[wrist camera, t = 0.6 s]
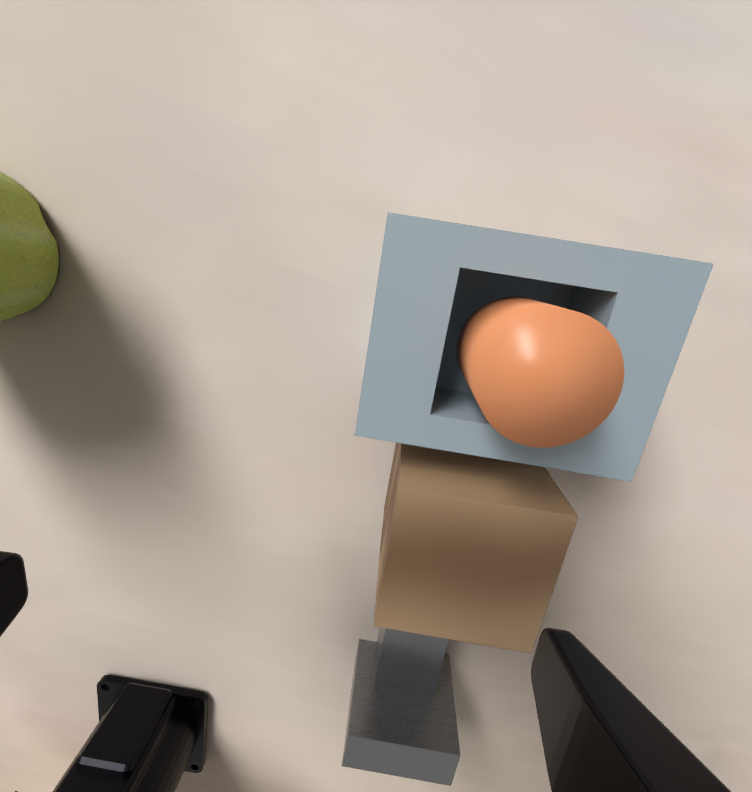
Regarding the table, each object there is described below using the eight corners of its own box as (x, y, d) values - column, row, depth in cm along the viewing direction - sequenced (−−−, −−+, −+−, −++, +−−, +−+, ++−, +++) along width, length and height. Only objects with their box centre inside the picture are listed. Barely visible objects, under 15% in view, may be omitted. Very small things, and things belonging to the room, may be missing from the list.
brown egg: (546, 405, 13) (598, 458, 9) (447, 389, 13) (462, 435, 9) (575, 305, 12) (645, 321, 8) (468, 288, 12) (494, 298, 8)
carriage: (491, 529, 19) (531, 653, 13) (383, 511, 20) (373, 625, 13) (518, 429, 18) (578, 516, 12) (401, 410, 18) (400, 486, 12)
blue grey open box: (550, 404, 19) (631, 481, 12) (372, 375, 19) (354, 435, 12) (592, 264, 17) (714, 263, 10) (394, 232, 17) (387, 212, 10)
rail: (441, 681, 24) (451, 785, 19) (354, 666, 24) (341, 766, 19) (523, 377, 18) (563, 416, 14) (409, 359, 19) (411, 391, 14)
